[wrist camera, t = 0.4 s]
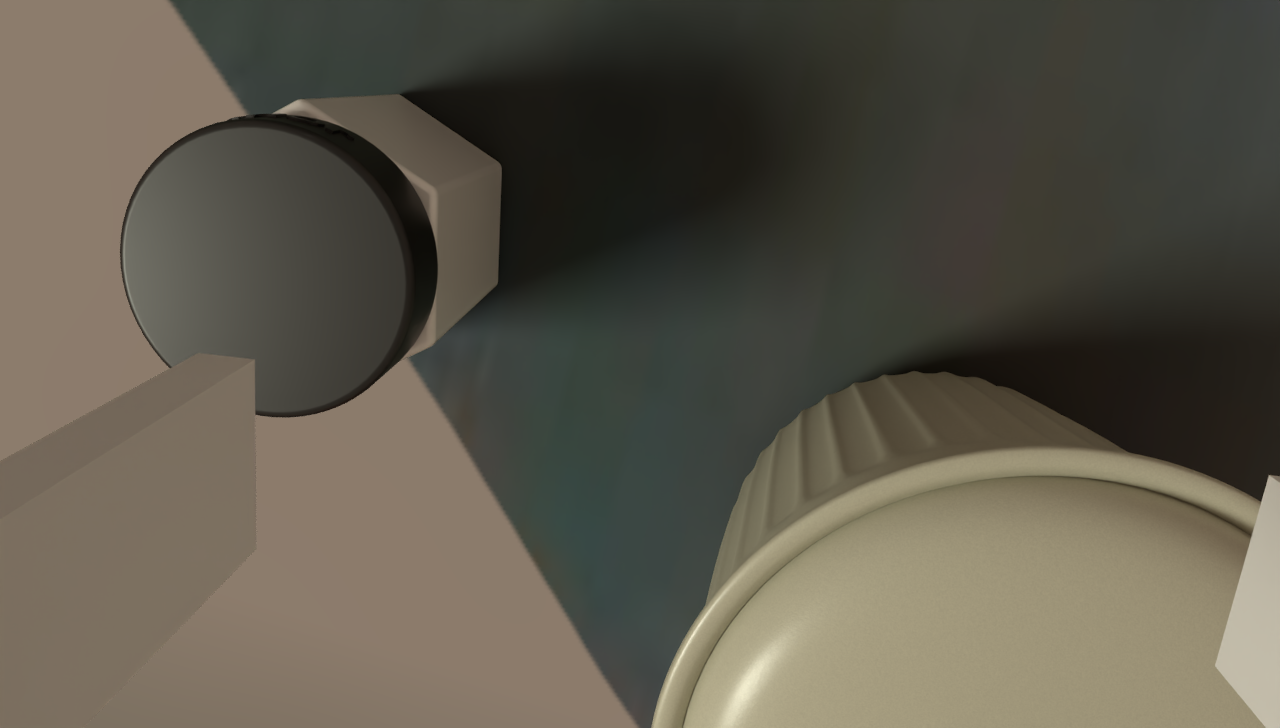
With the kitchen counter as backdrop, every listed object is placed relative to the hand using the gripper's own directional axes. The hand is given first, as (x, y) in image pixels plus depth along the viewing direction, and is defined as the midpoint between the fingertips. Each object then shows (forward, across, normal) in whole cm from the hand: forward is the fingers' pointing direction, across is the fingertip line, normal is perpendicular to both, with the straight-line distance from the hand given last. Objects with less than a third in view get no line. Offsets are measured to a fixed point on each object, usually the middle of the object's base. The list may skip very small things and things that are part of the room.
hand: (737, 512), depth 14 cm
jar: (+26, -12, -1) cm, 29 cm away
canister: (+26, +8, -11) cm, 29 cm away
